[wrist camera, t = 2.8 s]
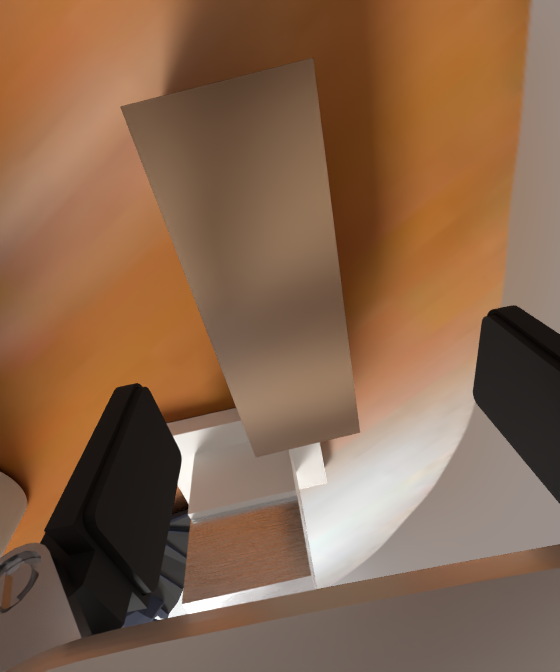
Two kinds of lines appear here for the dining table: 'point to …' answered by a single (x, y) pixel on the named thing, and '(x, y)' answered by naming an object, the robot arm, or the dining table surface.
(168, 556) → the decorative bat
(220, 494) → the fulcrum stand
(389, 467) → the dining table surface
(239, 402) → the wooden block
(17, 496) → the travel mug
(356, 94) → the dining table surface
